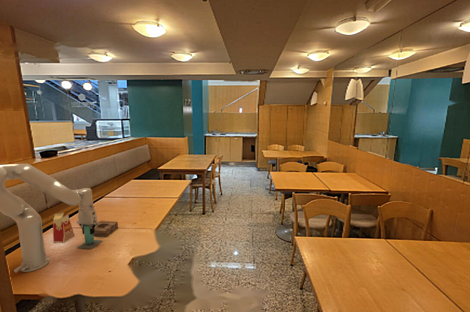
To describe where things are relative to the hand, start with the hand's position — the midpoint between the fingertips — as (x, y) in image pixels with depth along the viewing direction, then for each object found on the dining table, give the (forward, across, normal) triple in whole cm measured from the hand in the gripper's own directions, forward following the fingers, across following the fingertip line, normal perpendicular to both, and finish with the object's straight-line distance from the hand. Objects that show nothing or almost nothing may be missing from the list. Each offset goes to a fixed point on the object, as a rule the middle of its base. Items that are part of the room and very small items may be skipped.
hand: (88, 233), depth 146 cm
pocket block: (+8, +3, -17) cm, 19 cm away
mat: (+8, 0, 0) cm, 8 cm away
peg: (+6, 0, 0) cm, 6 cm away
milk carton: (+9, +23, -4) cm, 25 cm away
